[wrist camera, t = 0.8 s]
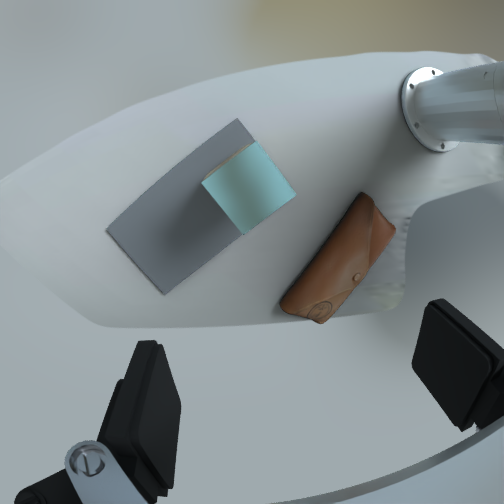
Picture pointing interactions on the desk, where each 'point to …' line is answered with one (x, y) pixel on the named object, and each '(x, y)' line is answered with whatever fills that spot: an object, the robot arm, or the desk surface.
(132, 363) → the robot arm
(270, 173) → the wooden block
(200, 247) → the charcoal mat
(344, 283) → the sunglasses case
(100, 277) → the desk surface
